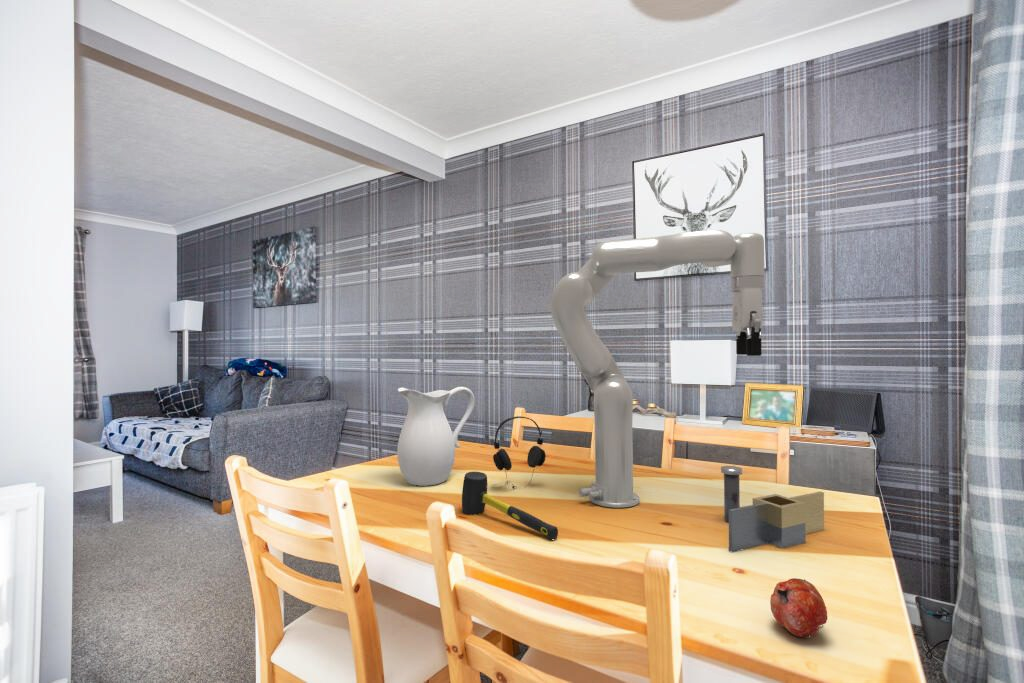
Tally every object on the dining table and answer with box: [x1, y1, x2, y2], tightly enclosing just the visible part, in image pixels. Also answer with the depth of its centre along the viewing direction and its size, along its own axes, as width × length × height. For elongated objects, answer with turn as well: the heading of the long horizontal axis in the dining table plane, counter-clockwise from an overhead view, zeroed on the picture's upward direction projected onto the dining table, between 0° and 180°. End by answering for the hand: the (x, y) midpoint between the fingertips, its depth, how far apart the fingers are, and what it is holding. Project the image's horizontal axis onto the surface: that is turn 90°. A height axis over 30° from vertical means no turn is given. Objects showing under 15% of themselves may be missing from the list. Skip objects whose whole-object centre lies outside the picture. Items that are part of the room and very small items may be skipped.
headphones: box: [492, 415, 547, 491], centre depth 146 cm, size 15×11×20 cm
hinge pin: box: [720, 465, 743, 524], centre depth 117 cm, size 4×4×12 cm
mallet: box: [461, 471, 559, 540], centre depth 117 cm, size 29×6×10 cm, turn 44°
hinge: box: [728, 491, 825, 553], centre depth 106 cm, size 27×7×8 cm, turn 114°
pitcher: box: [396, 386, 476, 487], centre depth 155 cm, size 24×17×28 cm
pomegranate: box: [769, 577, 828, 638], centre depth 73 cm, size 7×7×10 cm
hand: (748, 355), depth 126 cm, fingers open, 9 cm apart
